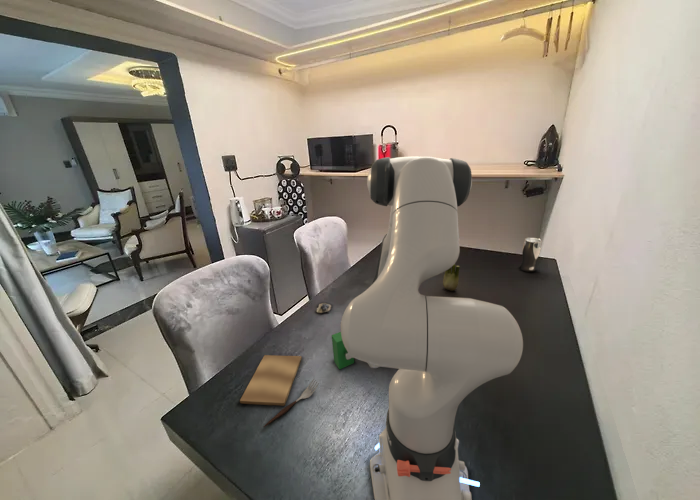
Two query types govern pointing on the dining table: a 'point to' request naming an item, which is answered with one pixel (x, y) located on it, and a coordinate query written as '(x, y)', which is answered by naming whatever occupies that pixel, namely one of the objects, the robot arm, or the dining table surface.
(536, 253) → the beer glass
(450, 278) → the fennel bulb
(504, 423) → the dining table surface
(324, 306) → the tan grey flat shell
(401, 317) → the robot arm
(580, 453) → the dining table surface
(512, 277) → the dining table surface
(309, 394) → the fork
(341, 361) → the brick
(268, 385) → the board
